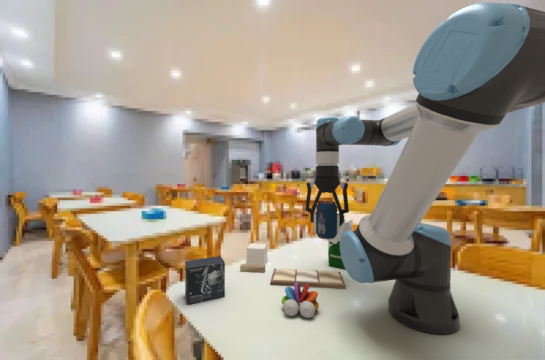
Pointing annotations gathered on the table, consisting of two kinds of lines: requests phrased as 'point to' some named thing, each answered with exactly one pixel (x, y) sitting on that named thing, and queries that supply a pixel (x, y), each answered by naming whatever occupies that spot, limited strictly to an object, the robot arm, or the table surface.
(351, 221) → the milk carton
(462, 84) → the robot arm
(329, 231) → the soda can
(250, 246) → the white cube
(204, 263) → the box
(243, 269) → the stick
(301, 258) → the table surface
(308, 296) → the rainbow petal fan toy
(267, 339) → the table surface
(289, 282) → the board
